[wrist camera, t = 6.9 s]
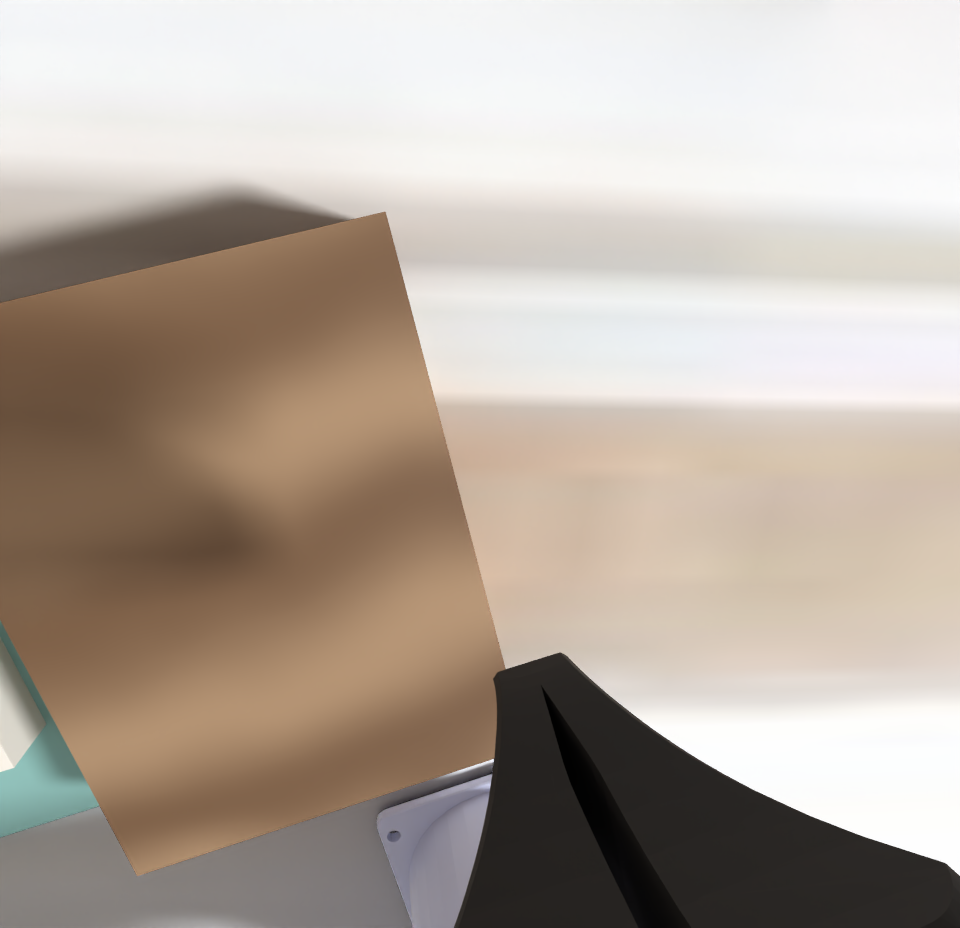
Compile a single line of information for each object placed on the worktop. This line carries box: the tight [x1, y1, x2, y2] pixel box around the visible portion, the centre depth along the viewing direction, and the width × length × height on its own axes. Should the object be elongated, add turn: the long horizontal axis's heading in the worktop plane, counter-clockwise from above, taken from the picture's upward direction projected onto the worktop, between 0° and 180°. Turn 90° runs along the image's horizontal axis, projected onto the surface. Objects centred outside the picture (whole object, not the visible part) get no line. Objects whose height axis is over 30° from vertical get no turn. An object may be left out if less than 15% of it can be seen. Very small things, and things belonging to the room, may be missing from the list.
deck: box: [0, 212, 506, 876], centre depth 19 cm, size 16×12×4 cm
